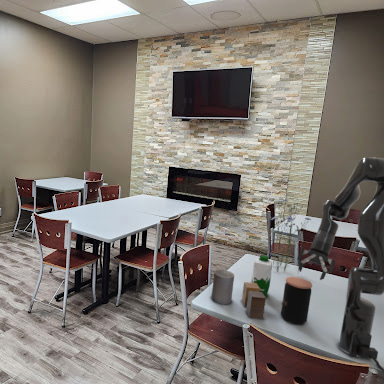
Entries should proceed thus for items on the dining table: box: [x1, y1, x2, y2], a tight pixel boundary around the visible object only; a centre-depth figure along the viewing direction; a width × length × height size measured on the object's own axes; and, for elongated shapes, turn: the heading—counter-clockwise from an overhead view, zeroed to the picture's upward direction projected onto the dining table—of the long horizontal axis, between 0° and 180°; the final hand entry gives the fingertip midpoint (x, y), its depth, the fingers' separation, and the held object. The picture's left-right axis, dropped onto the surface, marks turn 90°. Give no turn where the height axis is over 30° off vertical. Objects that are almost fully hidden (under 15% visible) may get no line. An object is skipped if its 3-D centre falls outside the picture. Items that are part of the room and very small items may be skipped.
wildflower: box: [270, 198, 312, 274], centre depth 207 cm, size 22×23×45 cm
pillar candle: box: [211, 269, 235, 305], centre depth 166 cm, size 10×10×15 cm
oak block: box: [241, 281, 260, 308], centre depth 163 cm, size 6×6×10 cm
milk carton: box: [251, 254, 273, 299], centre depth 174 cm, size 9×9×20 cm
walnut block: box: [246, 291, 267, 320], centre depth 153 cm, size 6×6×10 cm
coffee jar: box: [280, 276, 313, 326], centre depth 150 cm, size 11×11×18 cm
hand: (310, 275), depth 151 cm, fingers open, 8 cm apart
